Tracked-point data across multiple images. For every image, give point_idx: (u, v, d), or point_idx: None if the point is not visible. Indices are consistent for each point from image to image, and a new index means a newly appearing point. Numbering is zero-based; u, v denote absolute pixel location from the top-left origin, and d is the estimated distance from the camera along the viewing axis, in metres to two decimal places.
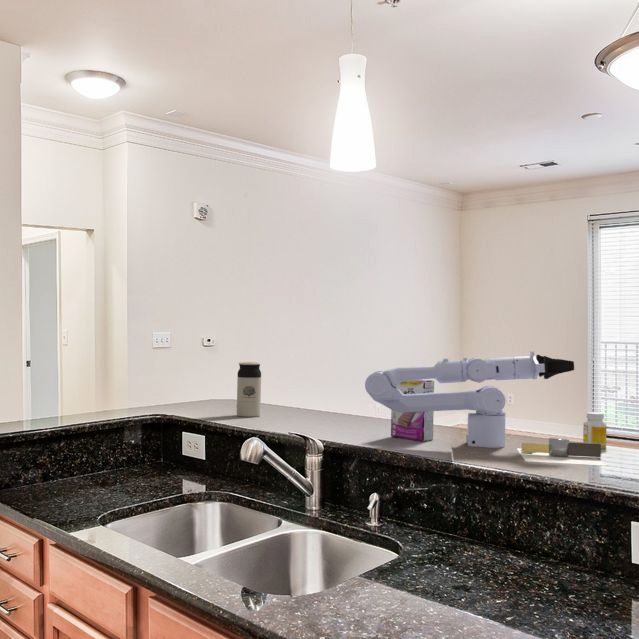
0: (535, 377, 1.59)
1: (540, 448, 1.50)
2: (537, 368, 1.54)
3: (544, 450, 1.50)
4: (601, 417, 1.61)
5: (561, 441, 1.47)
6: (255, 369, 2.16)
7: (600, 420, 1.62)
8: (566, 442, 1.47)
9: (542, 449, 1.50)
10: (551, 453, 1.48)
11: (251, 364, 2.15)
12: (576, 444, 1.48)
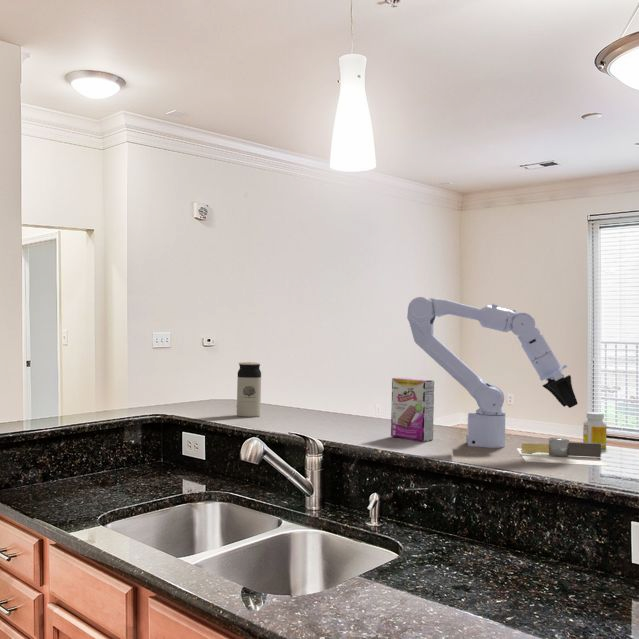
0: (543, 378, 1.57)
1: (540, 448, 1.50)
2: (556, 372, 1.52)
3: (544, 450, 1.50)
4: (601, 417, 1.61)
5: (561, 441, 1.47)
6: (255, 369, 2.16)
7: (600, 420, 1.62)
8: (566, 442, 1.47)
9: (542, 449, 1.50)
10: (551, 453, 1.48)
11: (251, 364, 2.15)
12: (576, 444, 1.48)
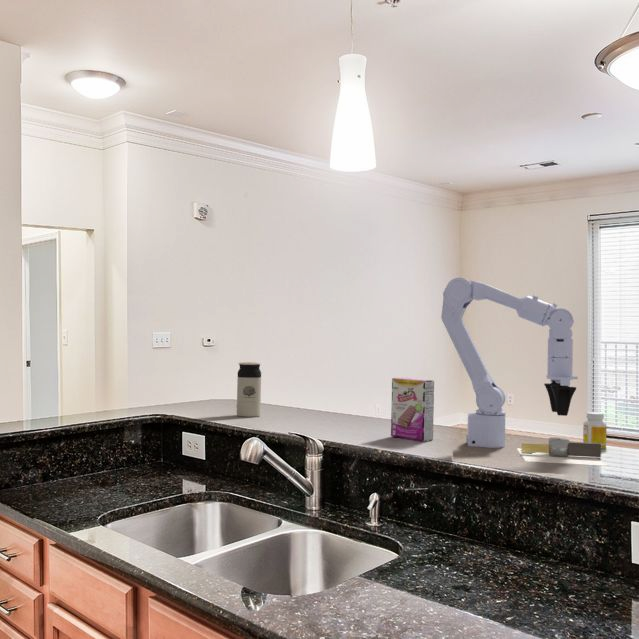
0: (550, 377, 1.56)
1: (540, 448, 1.50)
2: (565, 378, 1.50)
3: (544, 450, 1.50)
4: (601, 417, 1.61)
5: (561, 441, 1.47)
6: (255, 369, 2.16)
7: (600, 420, 1.62)
8: (566, 442, 1.47)
9: (542, 449, 1.50)
10: (551, 453, 1.48)
11: (251, 364, 2.15)
12: (576, 444, 1.48)
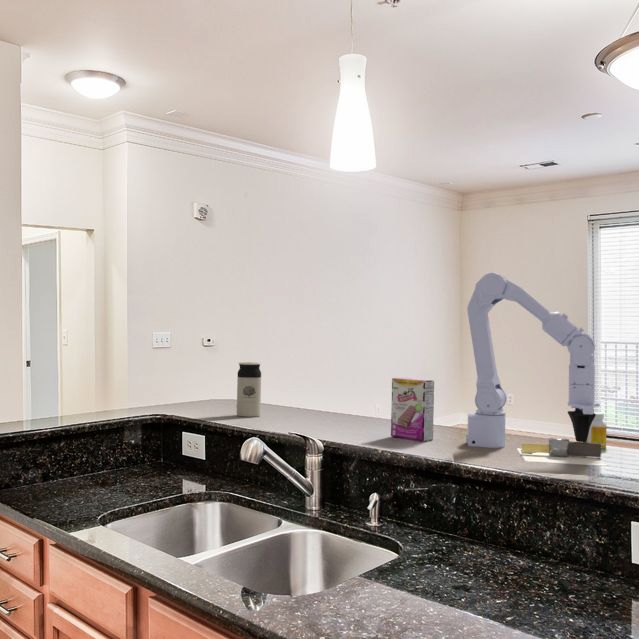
0: (572, 404, 1.52)
1: (540, 448, 1.50)
2: (588, 407, 1.47)
3: (544, 450, 1.50)
4: (601, 417, 1.61)
5: (561, 441, 1.47)
6: (255, 369, 2.16)
7: (600, 420, 1.62)
8: (566, 442, 1.47)
9: (542, 449, 1.50)
10: (551, 453, 1.48)
11: (251, 364, 2.15)
12: (576, 444, 1.48)
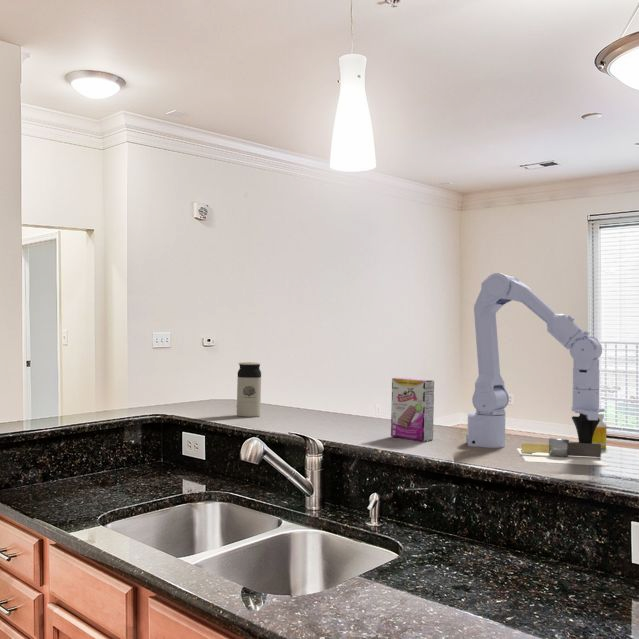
0: (576, 410, 1.48)
1: (540, 448, 1.50)
2: (593, 412, 1.42)
3: (544, 450, 1.50)
4: (601, 417, 1.61)
5: (561, 441, 1.47)
6: (255, 369, 2.16)
7: (600, 420, 1.62)
8: (566, 442, 1.47)
9: (542, 449, 1.50)
10: (551, 453, 1.48)
11: (251, 364, 2.15)
12: (576, 444, 1.48)
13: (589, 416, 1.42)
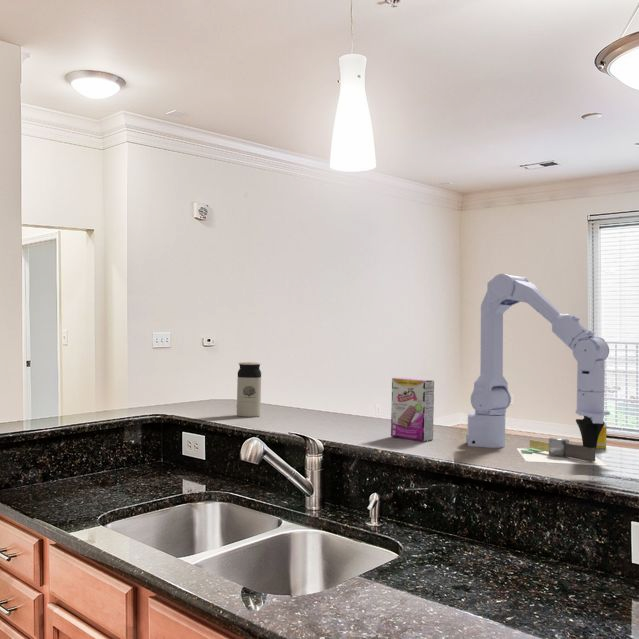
0: (580, 412, 1.43)
1: (543, 446, 1.53)
2: (598, 415, 1.38)
3: (546, 448, 1.52)
4: None
5: (553, 440, 1.48)
6: (255, 369, 2.16)
7: None
8: (559, 442, 1.47)
9: (545, 447, 1.52)
10: None
11: (251, 364, 2.15)
12: (570, 445, 1.46)
13: (594, 419, 1.38)
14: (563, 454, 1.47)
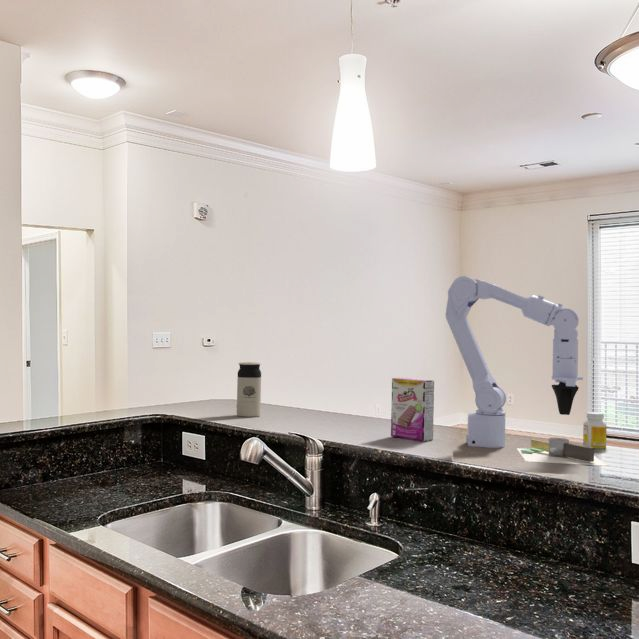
0: (555, 377, 1.55)
1: (544, 446, 1.53)
2: (570, 379, 1.49)
3: (546, 448, 1.52)
4: (601, 417, 1.61)
5: (553, 440, 1.48)
6: (255, 369, 2.16)
7: (600, 420, 1.62)
8: (558, 442, 1.47)
9: (545, 447, 1.52)
10: None
11: (251, 364, 2.15)
12: (569, 445, 1.46)
13: (567, 382, 1.49)
14: (562, 454, 1.47)
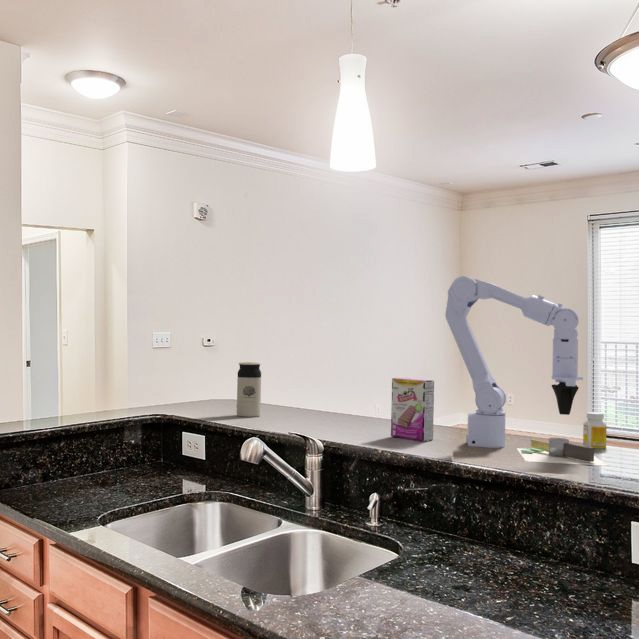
0: (555, 377, 1.55)
1: (544, 446, 1.53)
2: (570, 379, 1.49)
3: (546, 448, 1.52)
4: (601, 417, 1.61)
5: (553, 440, 1.48)
6: (255, 369, 2.16)
7: (600, 420, 1.62)
8: (558, 442, 1.47)
9: (545, 447, 1.52)
10: None
11: (251, 364, 2.15)
12: (569, 445, 1.46)
13: (567, 382, 1.49)
14: (562, 454, 1.47)
